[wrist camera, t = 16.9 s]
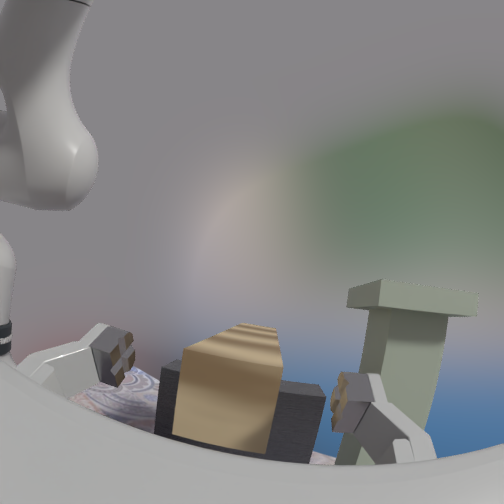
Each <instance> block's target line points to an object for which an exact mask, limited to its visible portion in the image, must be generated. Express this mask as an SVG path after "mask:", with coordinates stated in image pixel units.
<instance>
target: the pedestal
mask: <svg viewBox="0 0 504 504" xmlns="http://www.w3.org/2000/svg"><path fill="white" fill-rule="evenodd" d="M478 294H479V293H473V292H466V291H459V290H452V289H445V288H438V287H430V286H424V285H418V284H410V283H404V282H397V281H390V280H384V279H380V280H377V281H374V282H370V283H367V284H364V285H360V286H357V287H353V288H350V289H349V292H348V300H347V307H348V308H355V309H363V310H369V317H368V323H367V330H366V336H365V342H364V348H363V353H362V359H361V364H360V369H359V373H365V374H366V373H374V374H379V375H380V377H381V381H382V384H383V387H384V391H385V394H386V398H387V401H388V403H392V404H393V405H394V406H396V407H397V408H398V409H399V410H400V411H401V412H403V413H404V414H405V415H406V416H407V417H408V418H409V419H411V420H412V421H413V422H414V423H415V424H416V425H418V426H419V427H420V428H421V429H422V430H423V431H424V428H425V425H426V421H427V418H428V414H429V411H430V408H431V404H432V400H433V397H434V392H435V388H436V384H437V380H438V375H439V371H440V366H441V361H442V355H443V349H444V344H445V337H446V330H447V323H448V317H467V316H468V317H469V316H477V308H478V296H479V295H478ZM353 434H354V433H344V435H343V438H342V441H341V445H340V448H339V451H338V454H337V458H336V461H335V464H334V465H375V462H374V461H373V460H372V459H371V457H370V456H369V455H368V453H367V452H366V451H365V449H364V448H363V447H362V445H361V444H360V443H359V441H358V440H357V439H356V437H355V436H354V435H353Z"/></svg>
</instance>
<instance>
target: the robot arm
mask: <svg viewBox="0 0 504 504" xmlns="http://www.w3.org/2000/svg"><path fill="white" fill-rule="evenodd" d="M92 3H93V0H6V1H5V4H4V6H3V9H2V11H1V14H0V88H1V90H2V92H3V95H4V98H5V102H6V107H7V111H1V110H0V200H1V201H4V202H8V203H12V204H16V205H20V206H24V207H28V208H32V209H35V210H53V211H65V210H66V211H69V210H71V209H73V208H75V207H76V206H77V205H79V204H80V203H81V202H82V201H83V200H84V199H85V197H86V196H87V195H88V193H89V192H90V190H91V188H92V186H93V184H94V182H95V179H96V176H97V172H98V164H99V162H98V150H97V147H96V144H95V141H94V139H93V137H92V135H91V134H90V133H89V132H88V131H87V129H86V128H85V127H84V125H83V124H82V122H81V120H80V119H79V117H78V115H77V112H76V110H75V107H74V104H73V100H72V97H71V90H70V67H71V61H72V58H73V54H74V50H75V46H76V43H77V40H78V37H79V34H80V31H81V29H82V26H83V23H84V21H85V19H86V16H87V14H88V12H89V9H90V7H91V5H92ZM15 274H16V259H15V255H14V252H13V250H12V248H11V246H10V244H9V243H8V242H7V240H6V239H5V238H4V237H3V235H2V234H1V233H0V504H504V444H499V445H496V446H493V447H489V448H485V449H482V450H477V451H474V452H469V453H464V454H460V455H455V456H450V457H444V458H438V459H437V457H436V454H435V450H434V447H433V444H432V441H431V438H430V436H429V435H428V434H427V433H426V432H424V431H423V430H422V429H421V428H420V427H419V426H418V425H416V424H415V423H414V422H413V421H412V420H411V419H409V418H408V417H407V416H406V415H405V414H404V413H403V412H401V411H400V410H399V409H398V408H397V407H396V406H394V405H393V404H392V403H388V401H387V398H386V394H385V391H384V387H383V384H382V381H381V377H380V375H379V374H374V373H366V374H365V373H351V372H341V373H340V374H339V377H338V385H337V386H336V387H335V388H334V390H333V392H332V396H331V403H330V406H331V411H332V412H333V413H334V414H333V416H332V418H331V422H332V432H339V433H354V434H353V435H354V436H355V437H356V439H357V440H358V441H359V443H360V444H361V445H362V447H363V448H364V449H365V451H366V452H367V453H368V455H369V456H370V457H371V459H372V460H373V461H374V462H375V465H319V464H303V463H291V462H282V461H273V460H265V459H258V458H252V457H246V456H240V455H234V454H229V453H224V452H219V451H215V450H210V449H206V448H202V447H198V446H194V445H190V444H186V443H182V442H179V441H175V440H172V439H168V438H165V437H162V436H158V435H155V434H152V433H149V432H146V431H143V430H140V429H138V428H135V427H132V426H129V425H127V424H124V423H121V422H119V421H116V420H114V419H111V418H109V417H106V416H104V415H102V414H99V413H97V412H95V411H92V410H90V409H88V408H86V407H84V406H81V405H79V404H77V403H75V402H73V401H71V400H69V399H68V398H71V397H73V396H75V395H77V394H78V393H80V392H82V391H84V390H86V389H88V388H90V387H92V386H94V385H96V384H98V383H100V382H102V383H105V384H108V385H111V386H114V387H117V388H118V386H119V385H120V384H121V382H122V381H123V379H124V378H125V376H124V373H125V372H128V371H130V369H131V368H132V367H133V364H134V361H135V349H134V348H133V347H132V345H131V343H132V342H133V335H132V333H130V332H128V331H125V330H121V329H119V328H116V327H113V326H109V325H106V324H103V323H98V324H96V325H95V326H94V327H93V328H92V329H91V330H90V331H89V332H88V333H87V334H86V335H85V336H84V337H83V338H82V339H81V340H80V341H79V342H76V341H75V342H71V343H68V344H64V345H61V346H57V347H54V348H50V349H47V350H43V351H40V352H36V353H32V354H30V355H29V356H28V357H26V358H25V359H24V360H23V361H22V362H21V363H20V364H19V365H18V366H16V364H15V362H14V360H13V359H12V356H11V354H10V350H11V339H12V323H11V321H10V319H9V318H10V309H11V300H12V293H13V286H14V280H15Z"/></svg>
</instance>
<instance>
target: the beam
mask: <svg viewBox="0 0 504 504" xmlns="http://www.w3.org/2000/svg"><path fill="white" fill-rule="evenodd" d="M282 372H283V363H282V358H281V352H280V347H279V342H278V337H277V332H276V328H270V327H264V326H257V325H251V324H246V323H241V324H239V325H237V326H234V327H232V328H230V329H228V330H226V331H223V332H221V333H219V334H216V335H214V336H212V337H210V338H208V339H205V340H203V341H201V342H198V343H196V344H193V345H191V346H189V347H186V348H184V350H183V356H182V363H181V370H180V377H179V384H178V391H177V398H176V406H175V414H174V422H173V431H172V434H174V435H177V436H181V437H185V438H188V439H192V440H196V441H200V442H204V443H208V444H213V445H217V446H222V447H227V448H232V449H237V450H243V451H249V452H255V453H261V454H265V452H266V448H267V444H268V439H269V435H270V430H271V426H272V421H273V417H274V412H275V407H276V402H277V398H278V393H279V388H280V383H281V377H282Z"/></svg>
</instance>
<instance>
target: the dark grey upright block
mask: <svg viewBox="0 0 504 504" xmlns="http://www.w3.org/2000/svg"><path fill="white" fill-rule="evenodd" d="M181 363H182V361H180V360H175V361H173V362H171V363H169V364H167V365H165V366H163V367H162V368H161V375H160V383H159V391H158V400H157V409H156V419H155V429H154V434H155V435H158V436H162V437H165V438H168V439H172V440H175V441H179V442H182V443H186V444H190V445H194V446H198V447H202V448H206V449H210V450H215V451H219V452H224V453H229V454H234V455H240V456H246V457H252V458H258V459H265V460H273V461H282V462H291V463H303V464H309V462H310V458H311V455H312V451H313V448H314V444H315V440H316V436H317V433H318V429H319V425H320V421H321V417H322V413H323V409H324V405H325V400H326V396H325V394H324V393H323V391H322V389H321V388H320V386H319V385H316V384H306V383H298V382H290V381H283V380H281V383H280V388H279V393H278V398H277V402H276V407H275V412H274V417H273V421H272V426H271V430H270V435H269V439H268V444H267V448H266V452H265V454H261V453H255V452H249V451H243V450H237V449H232V448H227V447H222V446H217V445H213V444H208V443H204V442H200V441H196V440H192V439H188V438H185V437H181V436H177V435H174V434H172V431H173V422H174V414H175V406H176V398H177V391H178V384H179V377H180V370H181Z"/></svg>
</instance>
